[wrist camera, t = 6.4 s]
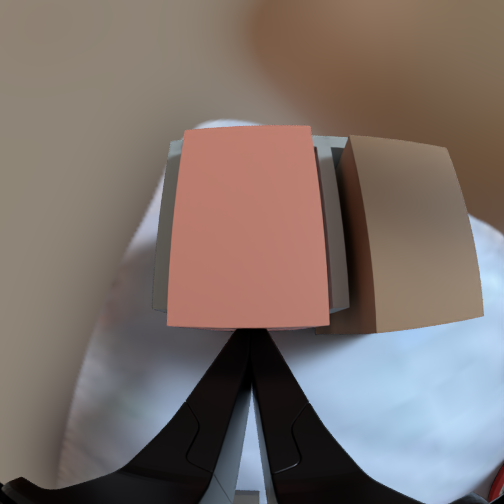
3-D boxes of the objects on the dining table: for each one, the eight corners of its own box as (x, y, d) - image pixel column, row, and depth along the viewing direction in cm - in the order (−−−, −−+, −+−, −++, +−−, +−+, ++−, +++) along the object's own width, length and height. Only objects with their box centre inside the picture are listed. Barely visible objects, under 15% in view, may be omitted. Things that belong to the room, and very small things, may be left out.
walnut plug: (380, 329, 15) (484, 315, 6) (315, 334, 15) (376, 333, 6) (371, 231, 17) (446, 148, 8) (310, 231, 17) (349, 134, 8)
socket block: (392, 314, 15) (478, 293, 8) (205, 321, 16) (152, 308, 8) (381, 220, 17) (443, 149, 9) (208, 221, 17) (170, 141, 10)
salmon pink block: (292, 329, 15) (329, 324, 7) (220, 330, 15) (166, 325, 7) (289, 227, 17) (310, 125, 8) (222, 228, 17) (184, 130, 8)
